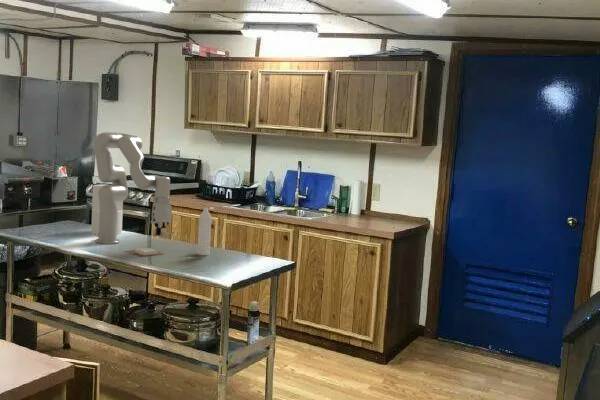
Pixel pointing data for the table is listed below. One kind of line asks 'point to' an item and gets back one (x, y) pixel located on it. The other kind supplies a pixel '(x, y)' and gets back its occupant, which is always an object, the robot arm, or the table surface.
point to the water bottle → (204, 232)
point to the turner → (162, 232)
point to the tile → (146, 251)
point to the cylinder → (97, 208)
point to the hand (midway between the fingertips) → (160, 234)
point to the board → (141, 255)
